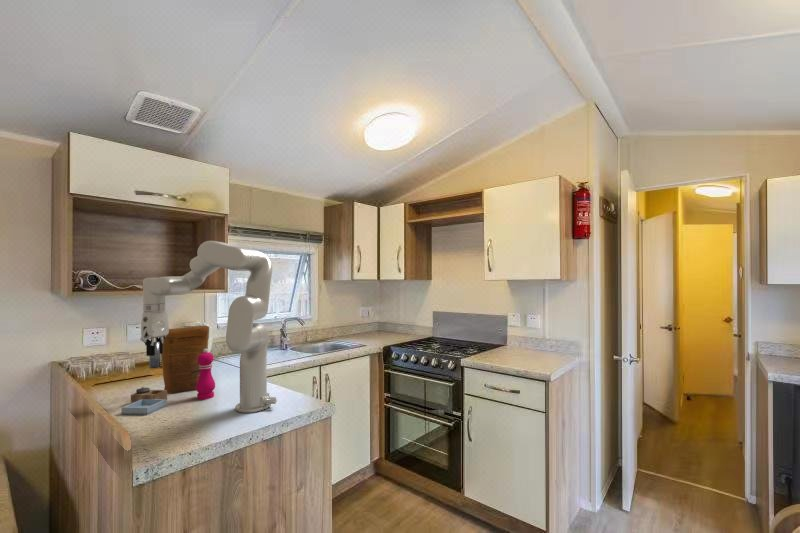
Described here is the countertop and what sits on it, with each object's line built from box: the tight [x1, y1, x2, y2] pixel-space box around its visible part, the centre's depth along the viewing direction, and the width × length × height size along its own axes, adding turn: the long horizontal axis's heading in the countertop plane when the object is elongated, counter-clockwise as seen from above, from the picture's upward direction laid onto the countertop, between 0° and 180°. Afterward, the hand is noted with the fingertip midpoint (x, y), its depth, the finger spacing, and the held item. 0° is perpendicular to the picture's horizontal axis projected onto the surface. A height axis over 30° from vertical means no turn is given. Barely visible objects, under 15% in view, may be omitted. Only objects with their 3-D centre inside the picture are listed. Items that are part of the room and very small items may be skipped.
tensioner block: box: [130, 386, 168, 404], centre depth 155 cm, size 10×7×6 cm
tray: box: [121, 398, 168, 416], centre depth 146 cm, size 10×10×2 cm
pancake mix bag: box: [160, 325, 210, 394], centre depth 171 cm, size 7×19×28 cm, turn 120°
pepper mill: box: [195, 349, 216, 400], centre depth 161 cm, size 7×7×20 cm
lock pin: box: [148, 341, 161, 369], centre depth 155 cm, size 4×4×10 cm
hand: (154, 354), depth 155 cm, fingers closed on lock pin, 3 cm apart
